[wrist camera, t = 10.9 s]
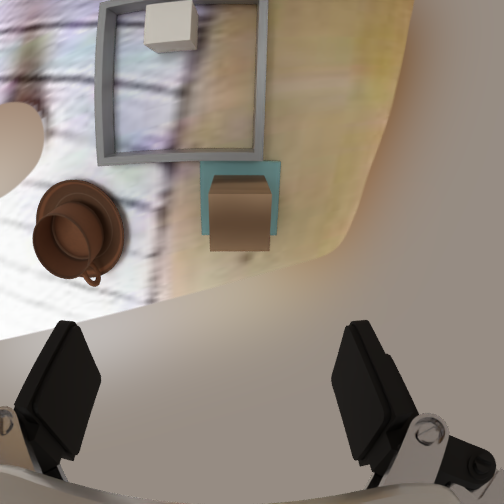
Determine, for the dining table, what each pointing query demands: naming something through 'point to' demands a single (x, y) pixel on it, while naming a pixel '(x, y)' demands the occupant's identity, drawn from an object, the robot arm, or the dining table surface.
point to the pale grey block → (171, 26)
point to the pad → (239, 168)
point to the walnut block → (239, 213)
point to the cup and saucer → (78, 231)
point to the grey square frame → (103, 92)
